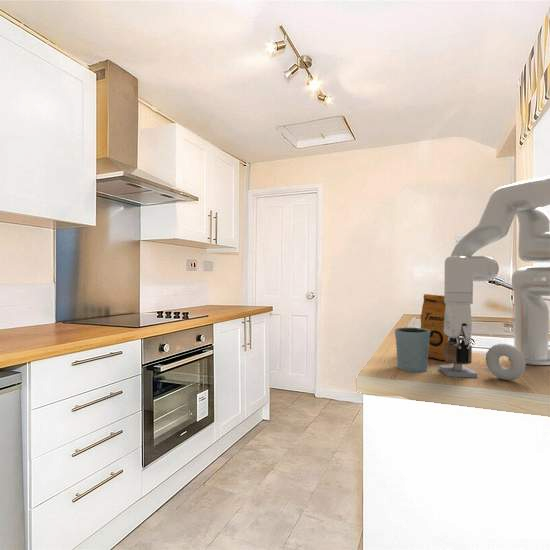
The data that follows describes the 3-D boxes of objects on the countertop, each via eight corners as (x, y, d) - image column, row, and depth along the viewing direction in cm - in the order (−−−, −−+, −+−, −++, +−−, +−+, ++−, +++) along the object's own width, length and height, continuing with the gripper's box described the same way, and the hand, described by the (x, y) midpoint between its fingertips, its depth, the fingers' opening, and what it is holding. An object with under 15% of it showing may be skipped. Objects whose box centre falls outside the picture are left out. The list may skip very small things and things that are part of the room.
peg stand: (466, 370, 116) (467, 343, 116) (477, 377, 108) (477, 348, 108) (439, 369, 117) (439, 342, 117) (447, 376, 109) (447, 347, 109)
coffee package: (452, 364, 124) (452, 295, 124) (416, 357, 133) (416, 294, 133) (465, 359, 131) (465, 294, 131) (429, 353, 140) (430, 293, 140)
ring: (442, 358, 116) (442, 342, 116) (465, 359, 115) (465, 342, 115) (449, 363, 110) (449, 346, 110) (474, 364, 109) (474, 347, 109)
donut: (483, 376, 109) (483, 341, 109) (488, 375, 111) (489, 340, 111) (522, 385, 101) (522, 347, 101) (527, 383, 103) (528, 345, 103)
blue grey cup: (432, 367, 119) (432, 329, 119) (426, 375, 110) (427, 333, 110) (398, 363, 124) (399, 326, 124) (390, 370, 116) (391, 330, 116)
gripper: (436, 296, 121) (435, 353, 122) (455, 300, 104) (454, 366, 104) (461, 296, 120) (460, 353, 121) (484, 300, 103) (483, 367, 103)
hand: (457, 359), depth 112 cm, fingers closed on ring, 6 cm apart
